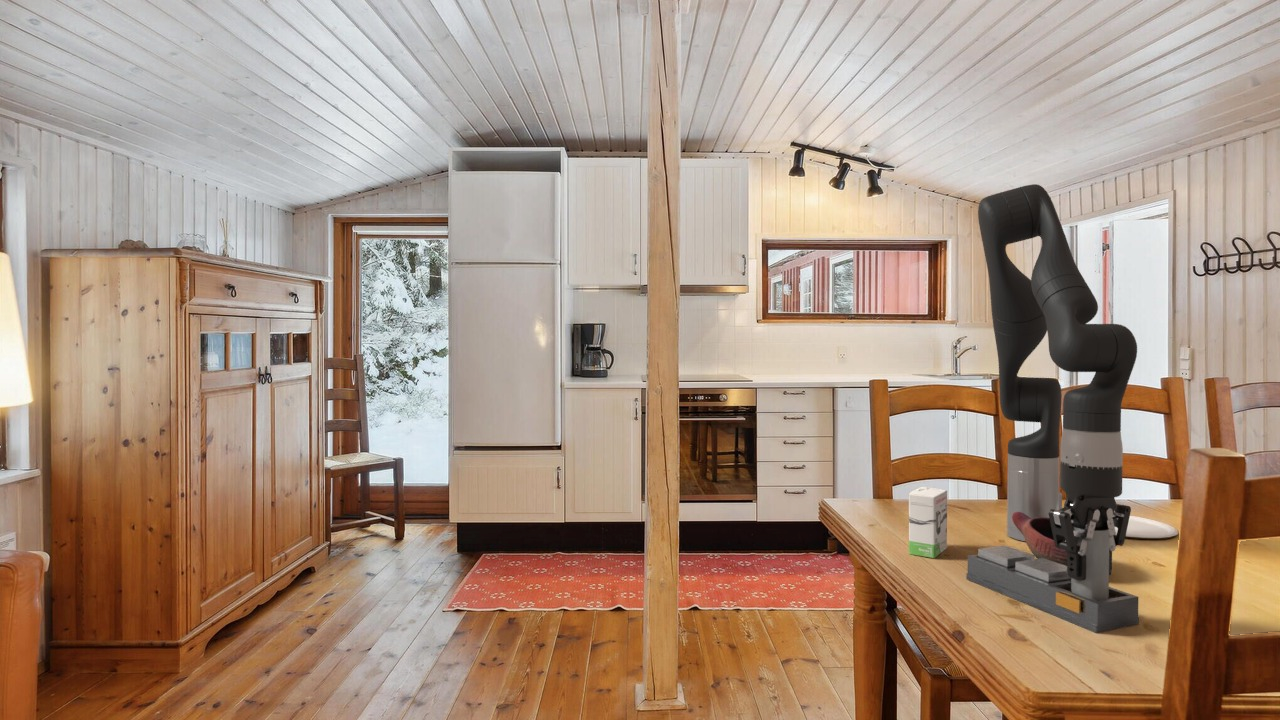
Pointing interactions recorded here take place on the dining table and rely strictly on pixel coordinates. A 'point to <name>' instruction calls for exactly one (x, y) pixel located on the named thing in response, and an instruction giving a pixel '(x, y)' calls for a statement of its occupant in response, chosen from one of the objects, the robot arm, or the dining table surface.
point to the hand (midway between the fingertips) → (1089, 576)
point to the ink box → (927, 521)
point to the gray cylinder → (1094, 567)
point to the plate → (1148, 529)
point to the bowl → (1039, 537)
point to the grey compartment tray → (1049, 589)
